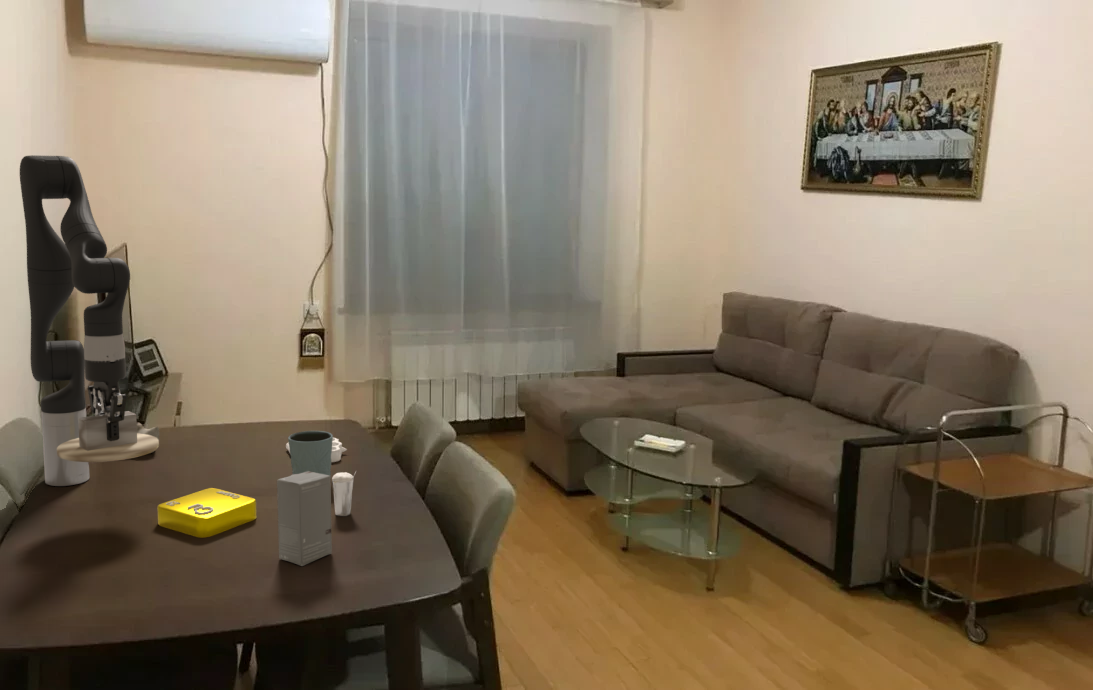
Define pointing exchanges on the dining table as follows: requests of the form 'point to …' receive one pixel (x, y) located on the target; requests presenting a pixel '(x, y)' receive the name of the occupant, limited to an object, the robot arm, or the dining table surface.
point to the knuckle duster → (336, 450)
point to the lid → (107, 441)
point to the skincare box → (304, 517)
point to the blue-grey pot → (311, 452)
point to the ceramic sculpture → (148, 431)
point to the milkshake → (342, 493)
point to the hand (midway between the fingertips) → (108, 437)
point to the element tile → (206, 512)
